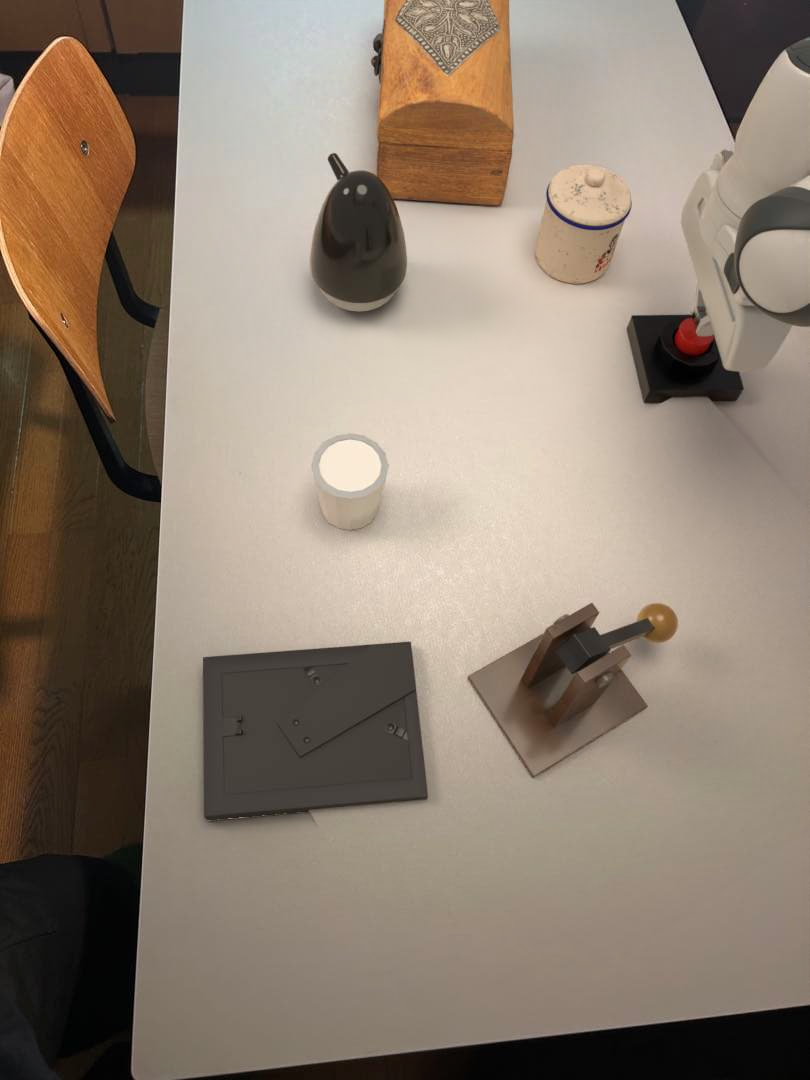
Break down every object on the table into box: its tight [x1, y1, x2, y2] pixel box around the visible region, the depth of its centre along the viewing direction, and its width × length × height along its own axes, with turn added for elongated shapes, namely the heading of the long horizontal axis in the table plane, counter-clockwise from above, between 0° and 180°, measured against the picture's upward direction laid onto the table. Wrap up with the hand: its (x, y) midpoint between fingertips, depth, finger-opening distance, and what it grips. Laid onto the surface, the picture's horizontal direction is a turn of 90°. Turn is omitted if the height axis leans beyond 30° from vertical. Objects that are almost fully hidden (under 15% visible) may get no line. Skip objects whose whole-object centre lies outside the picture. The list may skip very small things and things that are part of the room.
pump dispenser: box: [309, 152, 408, 312], centre depth 95 cm, size 10×10×15 cm
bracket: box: [467, 602, 648, 779], centre depth 76 cm, size 12×10×13 cm
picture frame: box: [202, 641, 429, 821], centre depth 78 cm, size 13×2×18 cm
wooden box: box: [370, 0, 515, 206], centre depth 110 cm, size 30×16×14 cm, turn 178°
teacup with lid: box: [534, 164, 633, 285], centre depth 102 cm, size 12×9×12 cm
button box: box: [626, 314, 745, 404], centre depth 98 cm, size 10×10×4 cm
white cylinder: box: [311, 433, 389, 531], centre depth 86 cm, size 7×7×7 cm
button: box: [674, 318, 714, 356], centre depth 96 cm, size 4×4×2 cm
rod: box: [556, 602, 679, 674], centre depth 75 cm, size 14×3×3 cm, turn 121°
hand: (700, 325), depth 94 cm, fingers closed
